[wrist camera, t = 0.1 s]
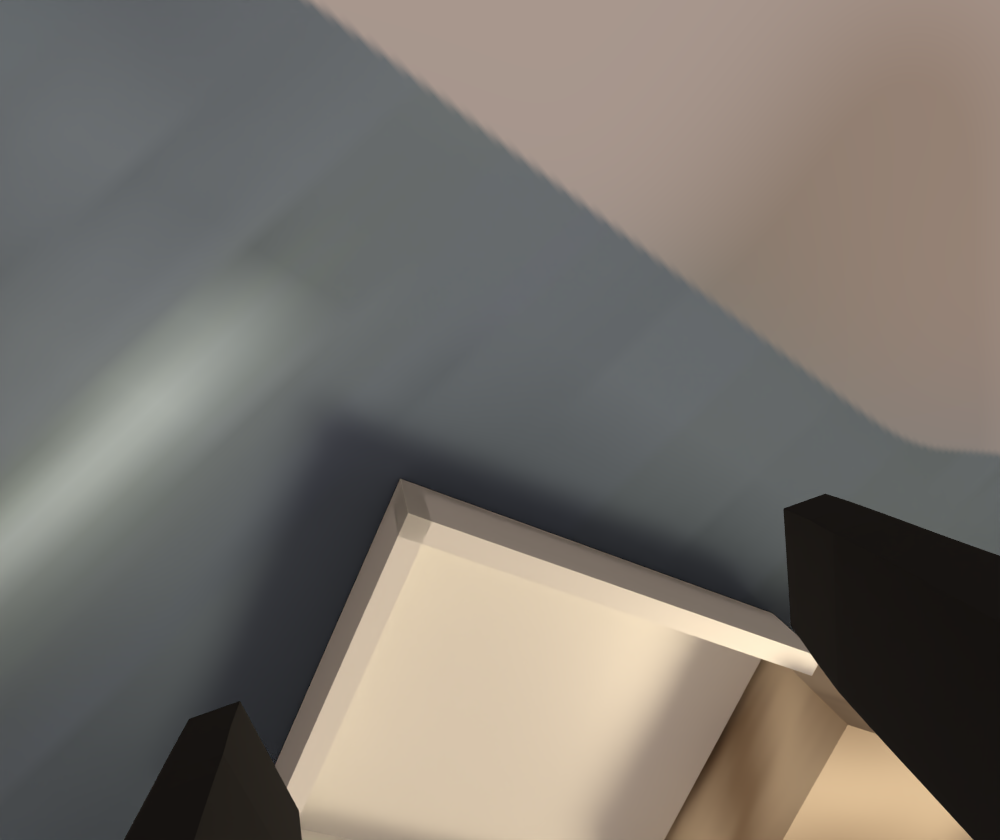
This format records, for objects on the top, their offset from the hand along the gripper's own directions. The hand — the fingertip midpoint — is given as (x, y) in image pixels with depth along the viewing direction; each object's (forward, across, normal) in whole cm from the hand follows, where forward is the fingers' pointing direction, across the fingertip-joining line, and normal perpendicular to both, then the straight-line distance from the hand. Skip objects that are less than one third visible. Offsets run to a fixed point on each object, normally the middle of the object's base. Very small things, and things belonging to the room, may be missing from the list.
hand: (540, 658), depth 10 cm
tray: (+9, 0, +11) cm, 14 cm away
